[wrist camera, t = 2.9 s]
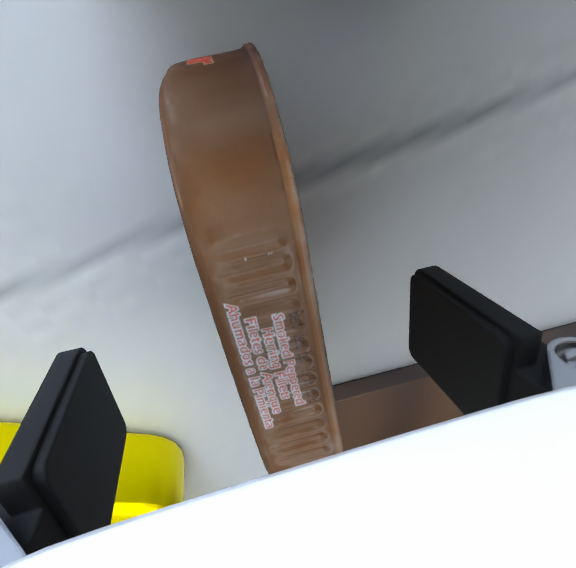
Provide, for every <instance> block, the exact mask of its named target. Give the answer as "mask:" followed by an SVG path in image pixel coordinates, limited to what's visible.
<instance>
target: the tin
mask: <svg viewBox="0 0 576 568" xmlns="http://www.w3.org/2000/svg"><path fill="white" fill-rule="evenodd" d="M159 108H160V119H161V125H162V131H163V137H164V143H165V149H166V155H167V160H168V165H169V169H170V173H171V178H172V182H173V186H174V190H175V194H176V198H177V202H178V205H179V209H180V213H181V216H182V220H183V224H184V227H185V231H186V234H187V237H188V241H189V244H190V248H191V251H192V254H193V257H194V261H195V264H196V267H197V270H198V273H199V276H200V279H201V282H202V285H203V288H204V291H205V294H206V298H207V300H208V303H209V306H210V309H211V312H212V315H213V319H214V322H215V325H216V328H217V331H218V334H219V336H220V339H221V343H222V346H223V349H224V352H225V355H226V358H227V361H228V364H229V367H230V370H231V372H232V375H233V378H234V381H235V384H236V387H237V390H238V393H239V396H240V399H241V402H242V405H243V407H244V410H245V413H246V415H247V418H248V422H249V425H250V428H251V430H252V433H253V435H254V438H255V441H256V444H257V447H258V449H259V452H260V455H261V458H262V460H263V463H264V465H265V468H266V470H267V472H268V473H269V474H273V473H276V472H279V471H282V470H286V469H289V468H292V467H295V466H299V465H302V464H305V463H308V462H312V461H315V460H318V459H321V458H325V457H328V456H331V455H335V454H338V453H341V452H343V445H342V438H341V434H340V428H339V422H338V416H337V411H336V405H335V398H334V393H333V387H332V382H331V376H330V371H329V365H328V360H327V353H326V348H325V342H324V336H323V331H322V325H321V319H320V315H319V307H318V301H317V296H316V291H315V285H314V279H313V273H312V266H311V261H310V254H309V249H308V243H307V237H306V232H305V226H304V220H303V215H302V210H301V205H300V200H299V196H298V191H297V187H296V182H295V178H294V174H293V170H292V165H291V161H290V154H289V151H288V148H287V142H286V140H285V137H284V133H283V129H282V126H281V120H280V116H279V113H278V110H277V106H276V102H275V97H274V94H273V91H272V88H271V85H270V82H269V78H268V75H267V73H266V70H265V68H264V65H263V61H262V59H261V57H260V55H259V53H258V51H257V50H256V47H255V46H254V45H253V44H252V43H246V44H244V45H243V47H242V48H241V49H238V50H234V51H230V52H226V53H221V54H216V55H211V56H206V57H201V58H195V59H190V60H187V61H183V62H180V63H176V64H174V65H172V66H171V67H170V68H169V69H168V71H167V73H166V75H165V76H164V78H163V80H162V83H161V86H160V92H159Z"/></svg>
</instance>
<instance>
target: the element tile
mask: <svg viewBox="0 0 576 568" xmlns="http://www.w3.org/2000/svg"><path fill="white" fill-rule="evenodd" d="M20 425H21V423H10V422H0V463H1V461H2V459H3V457H4V456H5V454H6V452H7V450H8V448H9V446H10V444H11V442H12V440H13V438H14V436H15V434H16V432H17V431H18V429H19V427H20ZM184 472H185V461H184V456H183V452H182V450H181V448H180V447H179V446H178V445H177V444H176V443H175V442H173V441H171V440H169V439H167V438H164V437H161V436H156V435H151V434H139V433H127V436H126V442H125V448H124V453H123V459H122V464H121V470H120V475H119V481H118V486H117V492H116V498H115V503H114V509H113V514H112V520H111V524H114V523H117V522H120V521H123V520H126V519H129V518H133V517H136V516H139V515H142V514H145V513H148V512H151V511H154V510H158V509H161V508H164V507H167V506H170V505H173V504H177V503H180V502H183V501H184Z"/></svg>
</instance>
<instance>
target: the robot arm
mask: <svg viewBox="0 0 576 568" xmlns="http://www.w3.org/2000/svg"><path fill="white" fill-rule="evenodd" d="M542 334H543V333H542V332H541V331H539V330H537V329H536V328H534V327H533V326H531V325H530V324H528V323H526V322H525V321H523V320H522V319H520V318H518V317H517V316H515V315H514V314H512V313H511V312H509V311H507V310H506V309H504V308H503V307H501V306H500V305H498V304H496V303H495V302H493V301H492V300H490V299H489V298H487V297H485V296H484V295H482V294H481V293H479V292H477V291H476V290H474V289H473V288H471V287H470V286H468V285H466V284H465V283H463V282H462V281H460V280H459V279H457V278H455V277H454V276H452V275H451V274H449V273H448V272H446V271H444V270H443V269H441V268H440V267H438V266H431V267H426V268H422V269H418V270H417V271H416V272H415V275H413V276H412V277H411V281H410V321H409V350H410V353H411V355H412V357H413V358H414V360H415V361H416V362H417V363H418V364H419V365H420V366H421V367H422V368H423V370H424V371H425V372H426V373H427V374H428V375H429V376H430V377H431V378H432V379H433V381H434V382H435V383H436V384H437V385H438V386H439V387H440V388H441V389H442V391H443V392H444V393H445V394H446V395H447V396H448V397H449V398H450V399H451V400H452V402H453V403H454V404H455V405H456V406H457V407H458V408H459V409H460V410H461V412H462V413H463V414H464V416H460V417H457V418H454V419H450V420H447V421H444V422H440V423H437V424H434V425H430V426H427V427H424V428H420V429H417V430H414V431H410V432H407V433H404V434H400V435H397V436H394V437H390V438H387V439H384V440H380V441H377V442H374V443H371V444H367V445H364V446H361V447H357V448H354V449H351V450H348V451H344V452H341V453H338V454H335V455H331V456H328V457H325V458H321V459H318V460H315V461H312V462H308V463H305V464H302V465H299V466H295V467H292V468H289V469H286V470H282V471H279V472H276V473H273V474H269V475H266V476H263V477H260V478H257V479H253V480H250V481H247V482H244V483H241V484H237V485H234V486H231V487H228V488H225V489H221V490H218V491H215V492H212V493H209V494H205V495H202V496H199V497H196V498H193V499H189V500H186V501H183V502H180V503H177V504H173V505H170V506H167V507H164V508H161V509H158V510H154V511H151V512H148V513H145V514H142V515H139V516H136V517H133V518H129V519H126V520H123V521H120V522H117V523H114V524H111V520H112V514H113V509H114V503H115V498H116V492H117V486H118V481H119V475H120V470H121V464H122V459H123V453H124V448H125V442H126V436H127V430H126V424H125V422H124V419H123V417H122V415H121V413H120V410H119V408H118V406H117V404H116V401H115V399H114V397H113V395H112V392H111V390H110V388H109V386H108V383H107V381H106V379H105V377H104V374H103V372H102V370H101V368H100V365H99V363H98V361H97V359H96V356H95V354H94V353H93V352H92V351H88V352H86V350H85V349H84V348H78V349H73V350H69V351H65V352H60V353H58V354H57V355H56V357H55V359H54V361H53V363H52V365H51V367H50V369H49V371H48V373H47V375H46V377H45V379H44V381H43V382H42V384H41V386H40V388H39V390H38V392H37V394H36V396H35V398H34V400H33V402H32V404H31V406H30V407H29V409H28V411H27V413H26V415H25V417H24V419H23V421H22V423H21V425H20V427H19V429H18V431H17V432H16V434H15V436H14V438H13V440H12V442H11V444H10V446H9V448H8V450H7V452H6V454H5V456H4V457H3V459H2V461H1V463H0V568H576V337H562V338H557V339H555V340H552V341H551V342H550V343H549V344H548V345H547V344H545V343H544V342H542V341H541V339H542Z"/></svg>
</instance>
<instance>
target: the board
mask: <svg viewBox="0 0 576 568" xmlns="http://www.w3.org/2000/svg"><path fill="white" fill-rule="evenodd" d="M542 333H543V334H542V339H541V341H542V342H544V343H545V344H547V345H548V344H549V343H550V342H551V341H552V340H555V339H557V338H562V337H576V323H572V324H568V325H565V326H561V327H557V328H553V329H549V330H546V331H542ZM332 387H333V393H334V398H335V405H336V411H337V416H338V422H339V428H340V434H341V438H342V445H343V452H344V451H348V450H351V449H354V448H357V447H361V446H364V445H367V444H371V443H374V442H377V441H380V440H384V439H387V438H390V437H394V436H397V435H400V434H404V433H407V432H410V431H414V430H417V429H420V428H424V427H427V426H430V425H434V424H437V423H440V422H444V421H447V420H450V419H454V418H457V417H460V416H464V414H463V413H462V412H461V410H460V409H459V408H458V407H457V406H456V405H455V404H454V403H453V402H452V400H451V399H450V398H449V397H448V396H447V395H446V394H445V393H444V392H443V391H442V389H441V388H440V387H439V386H438V385H437V384H436V383H435V382H434V381H433V379H432V378H431V377H430V376H429V375H428V374H427V373H426V372H425V371H424V370H423V368H422V367H421V366H420V365H419V364H416V365H412V366H408V367H404V368H401V369H397V370H393V371H389V372H385V373H382V374H378V375H374V376H370V377H366V378H362V379H359V380H355V381H351V382H347V383H343V384H340V385H336V386H332Z"/></svg>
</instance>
